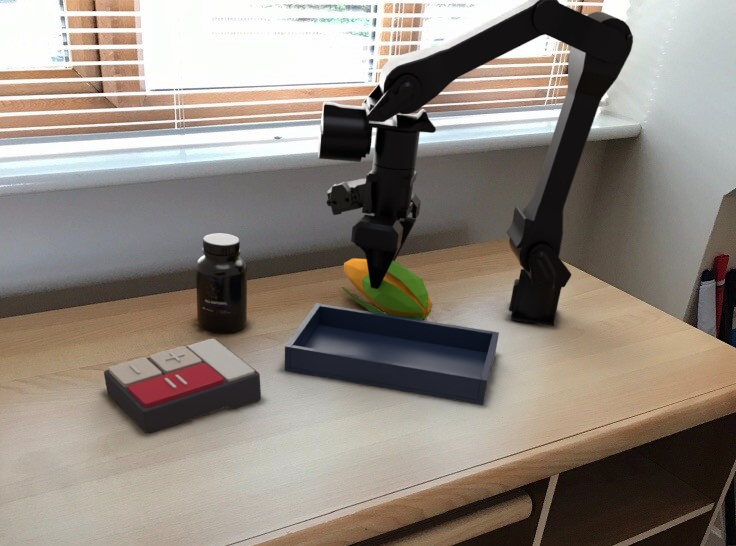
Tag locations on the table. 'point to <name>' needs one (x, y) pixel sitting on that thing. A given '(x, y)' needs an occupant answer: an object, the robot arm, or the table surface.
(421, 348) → the tray
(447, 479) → the table surface
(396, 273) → the corn
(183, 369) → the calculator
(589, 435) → the table surface
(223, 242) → the supplement bottle
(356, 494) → the table surface
